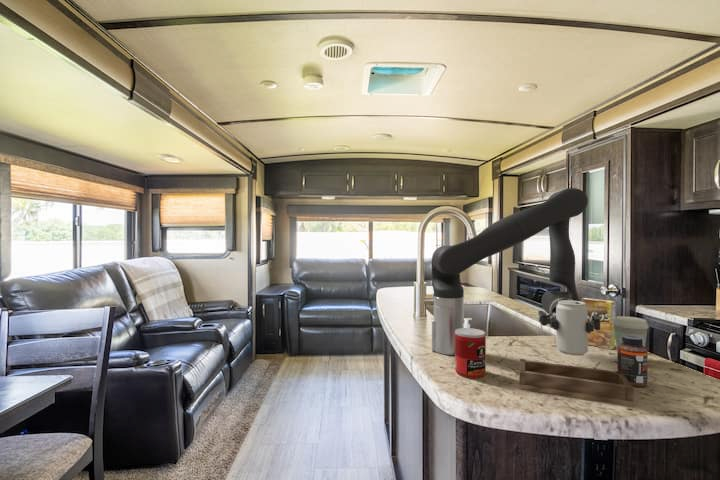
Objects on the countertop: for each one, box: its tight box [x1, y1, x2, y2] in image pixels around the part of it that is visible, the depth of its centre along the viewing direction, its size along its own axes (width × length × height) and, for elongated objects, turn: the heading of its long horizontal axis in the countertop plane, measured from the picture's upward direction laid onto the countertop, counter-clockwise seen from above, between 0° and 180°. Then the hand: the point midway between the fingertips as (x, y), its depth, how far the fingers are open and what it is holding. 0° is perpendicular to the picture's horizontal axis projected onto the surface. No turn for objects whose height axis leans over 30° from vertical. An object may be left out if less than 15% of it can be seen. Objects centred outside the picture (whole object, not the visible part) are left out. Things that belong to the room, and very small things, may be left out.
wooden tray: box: [518, 358, 635, 408], centre depth 86 cm, size 22×11×4 cm, turn 65°
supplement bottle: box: [616, 335, 649, 388], centre depth 89 cm, size 6×6×11 cm
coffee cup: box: [612, 315, 650, 349], centre depth 106 cm, size 8×8×12 cm
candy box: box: [581, 297, 617, 350], centre depth 120 cm, size 9×4×15 cm, turn 39°
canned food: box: [454, 327, 487, 379], centre depth 95 cm, size 8×8×11 cm
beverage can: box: [555, 300, 589, 357], centre depth 86 cm, size 6×6×12 cm
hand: (572, 326), depth 83 cm, fingers closed on beverage can, 6 cm apart
